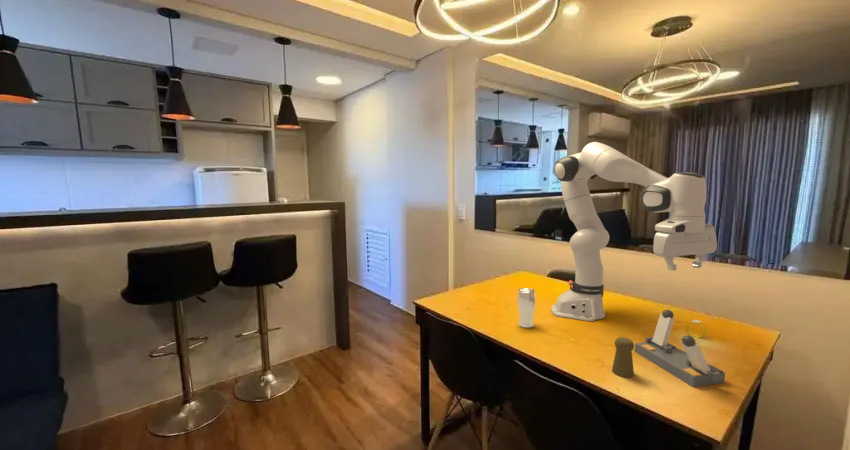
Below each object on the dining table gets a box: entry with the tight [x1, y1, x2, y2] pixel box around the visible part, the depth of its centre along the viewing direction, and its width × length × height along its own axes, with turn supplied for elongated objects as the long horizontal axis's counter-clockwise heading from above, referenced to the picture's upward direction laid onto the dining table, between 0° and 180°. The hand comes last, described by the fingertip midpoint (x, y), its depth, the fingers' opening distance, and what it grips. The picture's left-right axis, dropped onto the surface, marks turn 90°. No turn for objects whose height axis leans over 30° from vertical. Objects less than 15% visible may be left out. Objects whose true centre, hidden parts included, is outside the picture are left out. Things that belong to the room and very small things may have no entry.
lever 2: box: [680, 334, 712, 376], centre depth 103 cm, size 3×6×13 cm
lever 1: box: [650, 309, 675, 349], centre depth 120 cm, size 3×6×13 cm, turn 11°
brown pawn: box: [611, 336, 635, 379], centre depth 110 cm, size 6×6×11 cm
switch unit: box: [634, 336, 726, 388], centre depth 112 cm, size 11×24×5 cm, turn 10°
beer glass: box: [517, 287, 536, 329], centre depth 147 cm, size 7×7×15 cm
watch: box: [686, 319, 707, 339], centre depth 134 cm, size 6×3×6 cm, turn 23°
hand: (684, 268), depth 110 cm, fingers open, 8 cm apart
